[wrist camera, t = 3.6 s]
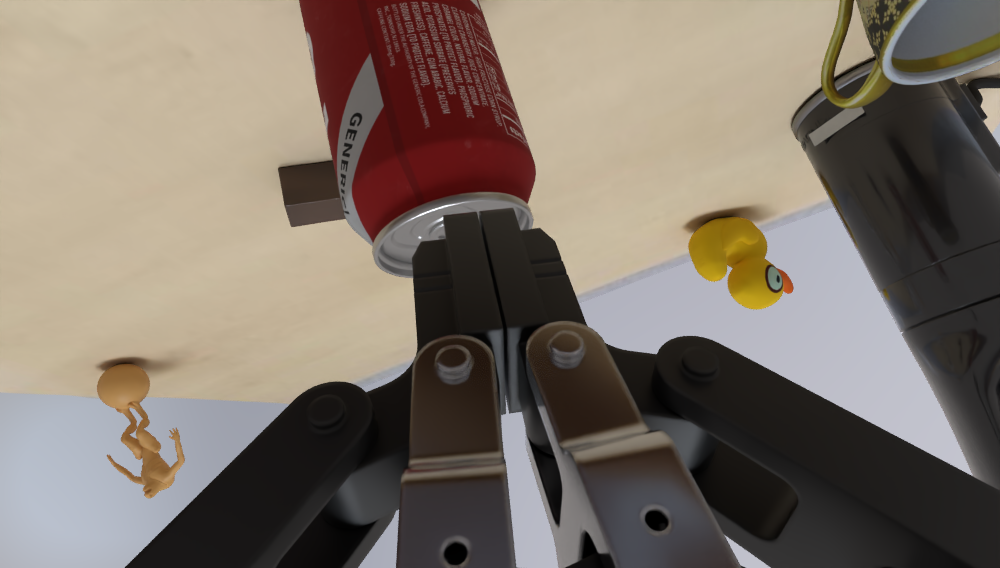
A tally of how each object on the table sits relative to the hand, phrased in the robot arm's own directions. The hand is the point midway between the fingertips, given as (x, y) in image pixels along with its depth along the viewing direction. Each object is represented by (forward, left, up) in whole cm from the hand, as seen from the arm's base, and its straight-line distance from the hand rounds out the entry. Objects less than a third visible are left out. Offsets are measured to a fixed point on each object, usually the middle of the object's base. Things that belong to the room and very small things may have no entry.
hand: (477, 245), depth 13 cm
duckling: (-25, +46, -15) cm, 55 cm away
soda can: (+1, +6, -15) cm, 17 cm away
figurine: (+34, +39, -15) cm, 54 cm away
